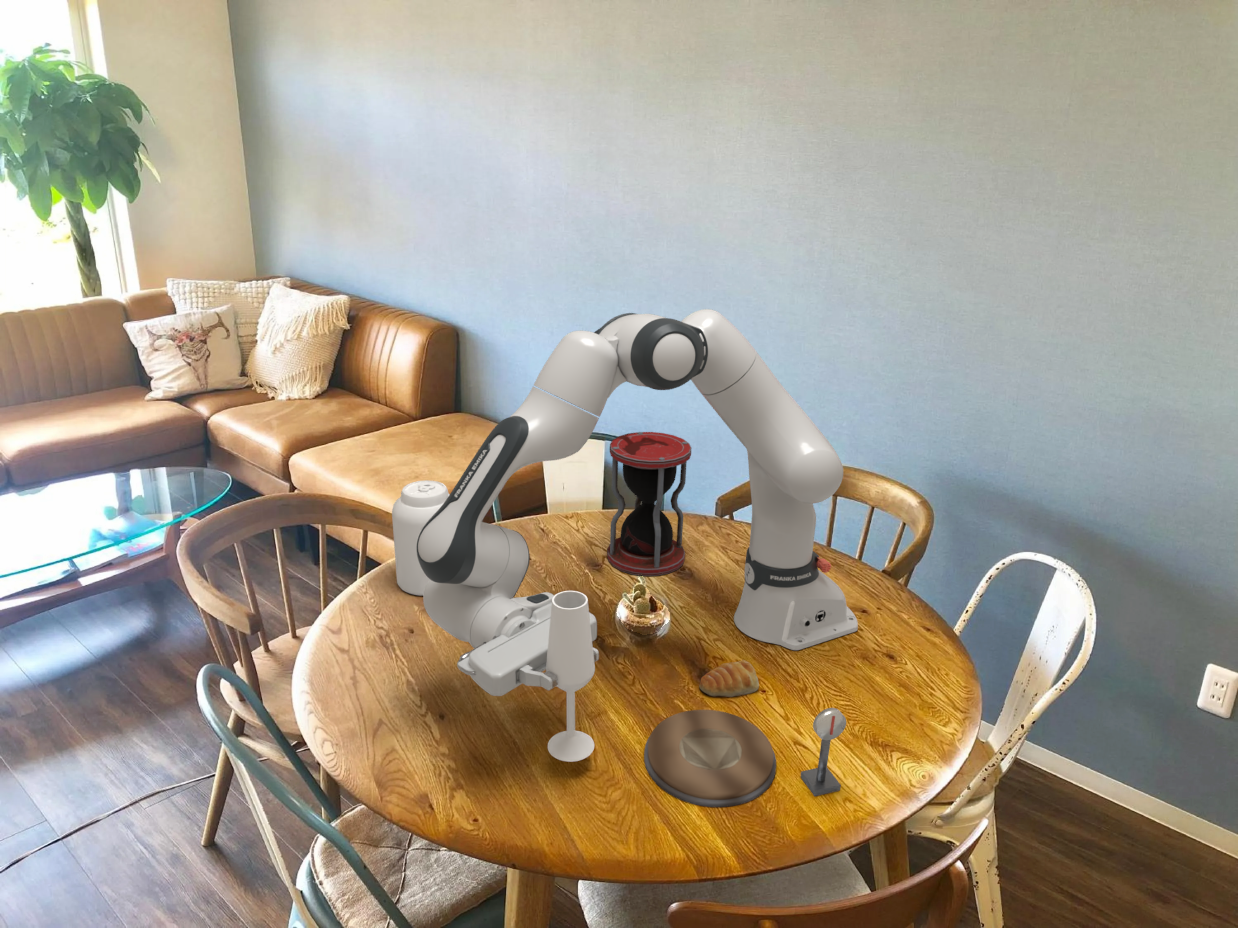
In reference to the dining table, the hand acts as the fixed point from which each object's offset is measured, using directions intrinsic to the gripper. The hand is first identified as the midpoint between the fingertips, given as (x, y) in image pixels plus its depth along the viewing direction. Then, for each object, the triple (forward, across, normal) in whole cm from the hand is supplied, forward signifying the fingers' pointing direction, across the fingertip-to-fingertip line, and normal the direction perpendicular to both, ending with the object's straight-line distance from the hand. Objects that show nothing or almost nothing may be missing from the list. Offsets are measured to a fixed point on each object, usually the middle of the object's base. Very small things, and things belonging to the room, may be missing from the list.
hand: (575, 670), depth 125 cm
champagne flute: (-1, 0, +13) cm, 13 cm away
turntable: (+13, +14, +17) cm, 26 cm away
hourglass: (-34, +55, +17) cm, 67 cm away
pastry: (+5, +31, +17) cm, 36 cm away
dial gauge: (+28, +21, +17) cm, 38 cm away
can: (-57, +18, +17) cm, 62 cm away
